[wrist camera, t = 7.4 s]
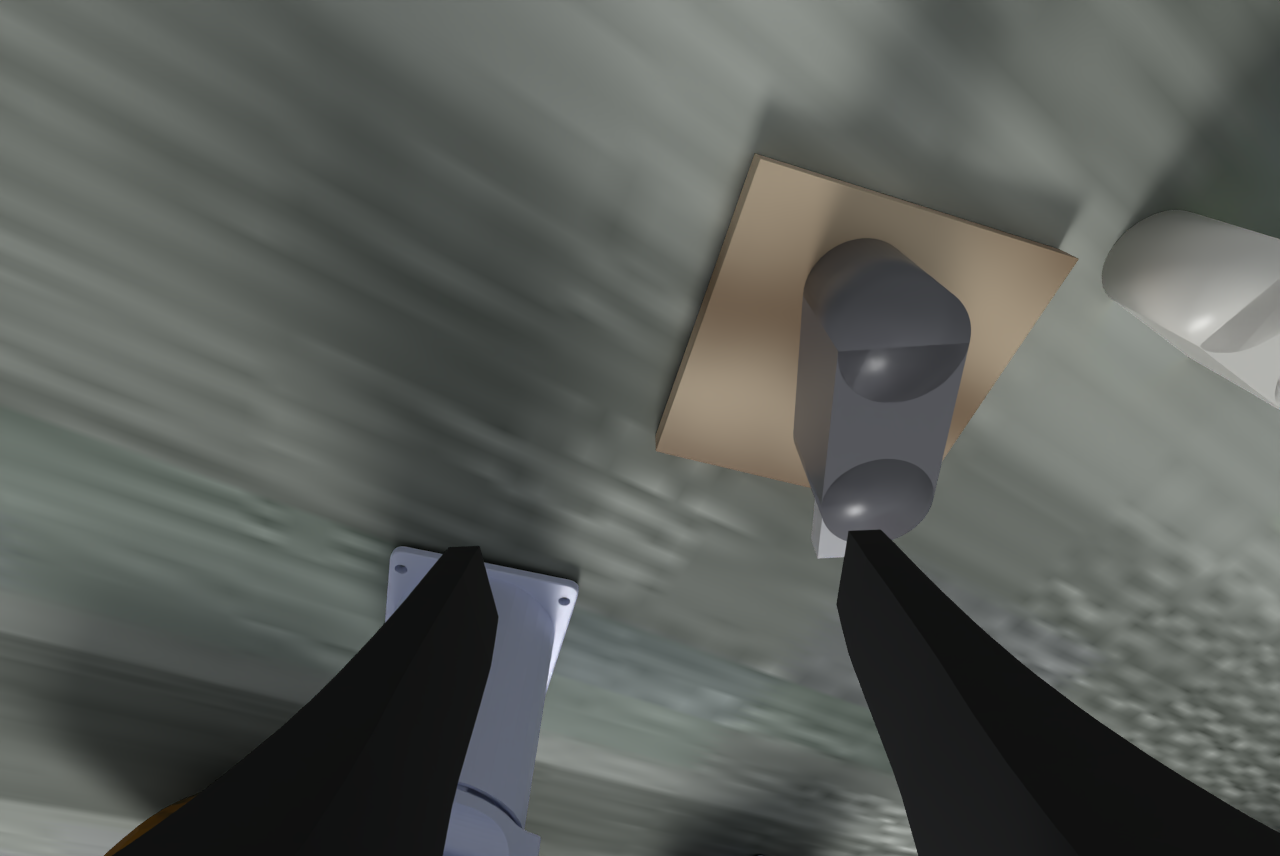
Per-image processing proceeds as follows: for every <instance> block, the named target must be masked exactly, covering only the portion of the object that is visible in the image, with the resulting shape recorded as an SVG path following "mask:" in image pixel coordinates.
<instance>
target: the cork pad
mask: <svg viewBox="0 0 1280 856" xmlns="http://www.w3.org/2000/svg"><path fill="white" fill-rule="evenodd" d="M861 238H872V239H878V240H882V241H885V242H887V243H889V244H891V245H892V246H894V247H895V248H897V249H898V250H899V251H900V252H901V253H903V254H904V255H905V256H906V257H908V258H909V259H910V260H911V261H913V262H914V263H915V264H916V265H918V266H919V267H920V268H921V269H923V270H924V271H925V272H926V273H927V274H929V275H930V276H931V277H932V278H934V279H935V280H936V281H937V282H939V283H940V284H941V285H942V286H944V287H945V288H946V289H947V290H948V291H950V292H951V293H952V294H953V295H955V296H956V297H957V298H958V299H959V300H960V301H961V302H962V304H963V305H964V307H965V308H966V310H967V312H968V315H969V318H970V323H971V338H970V344H969V348H968V352H967V356H966V361H965V365H964V369H963V374H962V378H961V382H960V386H959V391H958V395H957V399H956V403H955V408H954V412H953V416H952V421H951V425H950V429H949V433H948V438H947V442H946V446H945V451H944V455H943V459H944V458H945V456H946V455H947V453H948V452H949V450H950V449H951V447H952V446H953V444H954V443H955V441H956V440H957V438H958V437H959V435H960V434H961V432H962V431H963V430H964V428H965V427H966V425H967V424H968V422H969V421H970V419H971V418H972V416H973V415H974V413H975V412H976V410H977V409H978V407H979V406H980V404H981V403H982V401H983V400H984V398H985V397H986V395H987V394H988V393H989V391H990V390H991V388H992V387H993V385H994V384H995V382H996V381H997V379H998V378H999V376H1000V375H1001V373H1002V372H1003V370H1004V369H1005V367H1006V366H1007V364H1008V363H1009V361H1010V360H1011V358H1012V357H1013V356H1014V354H1015V353H1016V351H1017V350H1018V348H1019V347H1020V345H1021V344H1022V342H1023V341H1024V339H1025V338H1026V336H1027V335H1028V333H1029V332H1030V330H1031V329H1032V327H1033V326H1034V324H1035V323H1036V321H1037V320H1038V319H1039V317H1040V316H1041V314H1042V313H1043V311H1044V310H1045V308H1046V307H1047V305H1048V304H1049V302H1050V301H1051V299H1052V298H1053V296H1054V295H1055V293H1056V292H1057V290H1058V289H1059V287H1060V286H1061V284H1062V283H1063V282H1064V280H1065V279H1066V277H1067V276H1068V274H1069V273H1070V271H1071V270H1072V268H1073V267H1074V265H1075V264H1076V262H1077V261H1078V258H1076V257H1074V256H1072V255H1070V254H1068V253H1066V252H1064V251H1062V250H1059V249H1057V248H1053V247H1050V246H1047V245H1044V244H1041V243H1038V242H1034V241H1031V240H1028V239H1025V238H1022V237H1019V236H1015V235H1012V234H1009V233H1006V232H1003V231H999V230H996V229H993V228H990V227H987V226H984V225H980V224H977V223H974V222H971V221H968V220H965V219H961V218H958V217H955V216H952V215H949V214H946V213H942V212H939V211H936V210H933V209H930V208H927V207H923V206H920V205H917V204H914V203H911V202H908V201H904V200H901V199H898V198H895V197H892V196H888V195H885V194H882V193H879V192H876V191H873V190H869V189H866V188H863V187H860V186H857V185H854V184H850V183H847V182H844V181H841V180H838V179H835V178H831V177H828V176H825V175H822V174H819V173H816V172H812V171H809V170H806V169H803V168H800V167H797V166H793V165H790V164H787V163H784V162H781V161H777V160H774V159H771V158H768V157H765V156H762V155H758V154H754V157H753V160H752V163H751V166H750V169H749V171H748V174H747V177H746V180H745V183H744V186H743V188H742V191H741V194H740V197H739V200H738V203H737V205H736V208H735V211H734V214H733V217H732V220H731V223H730V225H729V228H728V231H727V234H726V237H725V240H724V242H723V245H722V248H721V251H720V254H719V257H718V259H717V262H716V265H715V268H714V271H713V274H712V277H711V279H710V282H709V285H708V288H707V291H706V294H705V296H704V299H703V302H702V305H701V308H700V311H699V313H698V316H697V319H696V322H695V325H694V328H693V331H692V333H691V336H690V339H689V342H688V345H687V348H686V350H685V353H684V356H683V359H682V362H681V365H680V367H679V370H678V373H677V376H676V379H675V382H674V385H673V387H672V390H671V393H670V396H669V399H668V402H667V404H666V407H665V410H664V413H663V416H662V419H661V421H660V424H659V427H658V430H657V433H656V436H655V437H656V451H657V452H662V453H666V454H670V455H674V456H679V457H683V458H687V459H691V460H695V461H700V462H704V463H708V464H712V465H716V466H721V467H725V468H729V469H733V470H738V471H742V472H746V473H750V474H754V475H759V476H763V477H767V478H771V479H775V480H780V481H784V482H788V483H792V484H797V485H801V486H805V487H809V488H811V487H810V484H809V481H808V479H807V476H806V473H805V471H804V468H803V465H802V463H801V460H800V457H799V454H798V452H797V449H796V446H795V444H794V439H793V429H794V415H795V401H796V386H797V372H798V358H799V344H800V329H801V315H802V301H803V291H804V286H805V282H806V280H807V277H808V275H809V273H810V272H811V270H812V268H813V267H814V265H815V264H816V263H817V262H818V261H819V259H820V258H821V257H822V256H824V255H825V254H826V253H827V252H828V251H830V250H831V249H833V248H834V247H836V246H838V245H840V244H842V243H845V242H847V241H851V240H854V239H861ZM943 459H942V461H943Z"/></svg>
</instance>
